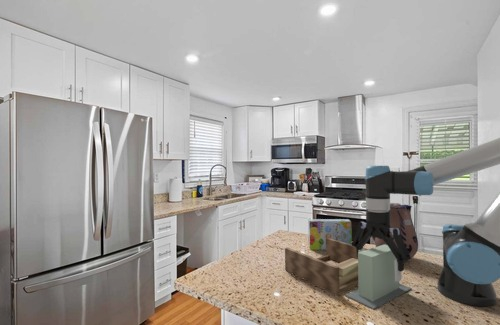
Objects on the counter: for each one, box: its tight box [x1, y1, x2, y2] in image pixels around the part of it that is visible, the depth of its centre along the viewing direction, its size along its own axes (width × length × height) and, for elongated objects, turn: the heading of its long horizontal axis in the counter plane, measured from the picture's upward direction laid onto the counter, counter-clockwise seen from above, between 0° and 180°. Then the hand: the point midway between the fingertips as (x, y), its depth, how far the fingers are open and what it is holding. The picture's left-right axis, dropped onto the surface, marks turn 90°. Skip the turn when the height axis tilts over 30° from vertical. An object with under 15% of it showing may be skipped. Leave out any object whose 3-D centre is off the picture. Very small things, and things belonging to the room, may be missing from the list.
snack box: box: [307, 218, 353, 251], centre depth 137 cm, size 21×6×15 cm, turn 84°
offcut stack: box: [334, 258, 358, 287], centre depth 100 cm, size 5×16×6 cm, turn 123°
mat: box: [344, 283, 412, 310], centre depth 89 cm, size 10×23×1 cm, turn 123°
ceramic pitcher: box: [365, 202, 419, 262], centre depth 122 cm, size 18×21×25 cm
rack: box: [284, 238, 369, 296], centre depth 106 cm, size 26×27×9 cm
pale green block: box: [357, 244, 400, 301], centre depth 89 cm, size 5×16×14 cm, turn 123°
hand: (378, 273), depth 89 cm, fingers open, 12 cm apart
